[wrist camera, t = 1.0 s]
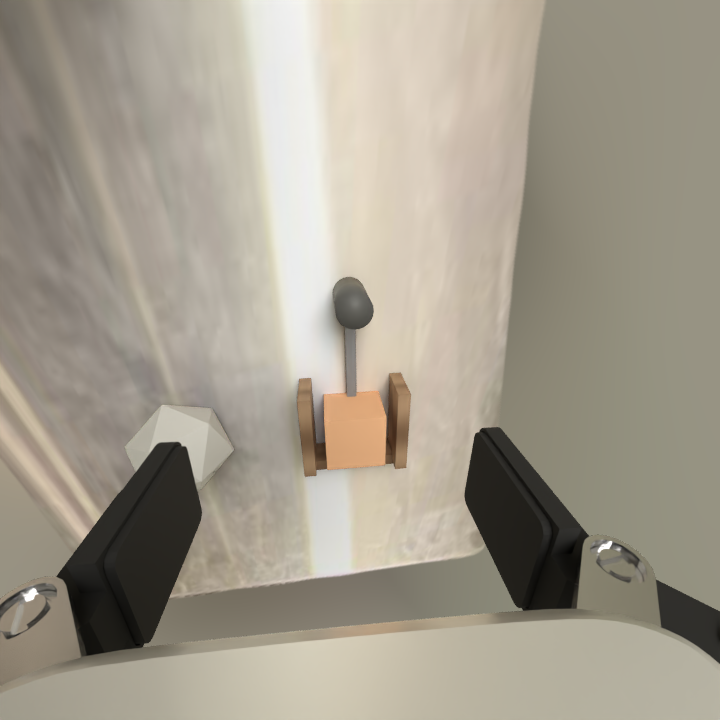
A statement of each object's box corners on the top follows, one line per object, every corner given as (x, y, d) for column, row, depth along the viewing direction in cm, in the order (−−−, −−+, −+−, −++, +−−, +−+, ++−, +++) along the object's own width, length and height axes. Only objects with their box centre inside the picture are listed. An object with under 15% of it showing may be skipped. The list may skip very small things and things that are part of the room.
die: (174, 460, 39) (207, 522, 33) (97, 441, 32) (122, 515, 26) (221, 404, 40) (262, 455, 34) (156, 374, 33) (194, 432, 27)
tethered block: (316, 278, 31) (315, 294, 26) (380, 276, 32) (392, 291, 26) (326, 439, 39) (327, 477, 34) (377, 435, 40) (386, 472, 34)
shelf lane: (299, 378, 35) (297, 401, 31) (400, 372, 36) (410, 394, 32) (306, 452, 40) (305, 480, 35) (397, 445, 41) (405, 472, 36)
